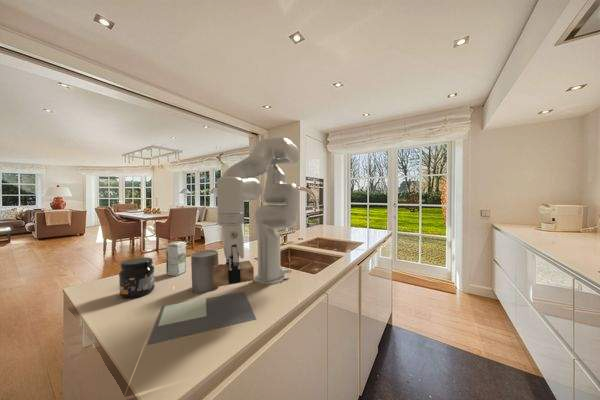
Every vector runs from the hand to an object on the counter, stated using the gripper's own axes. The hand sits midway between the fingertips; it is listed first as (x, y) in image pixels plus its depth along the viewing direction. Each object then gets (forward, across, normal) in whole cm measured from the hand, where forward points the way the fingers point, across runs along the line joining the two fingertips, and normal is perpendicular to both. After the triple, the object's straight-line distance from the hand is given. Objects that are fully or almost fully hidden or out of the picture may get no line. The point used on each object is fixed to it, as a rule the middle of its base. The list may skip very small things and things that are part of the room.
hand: (233, 277), depth 66 cm
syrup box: (+12, +47, +20) cm, 52 cm away
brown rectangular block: (+1, 0, 0) cm, 1 cm away
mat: (+11, +4, +8) cm, 14 cm away
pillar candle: (+12, +24, +8) cm, 28 cm away
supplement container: (+11, +30, +31) cm, 44 cm away
